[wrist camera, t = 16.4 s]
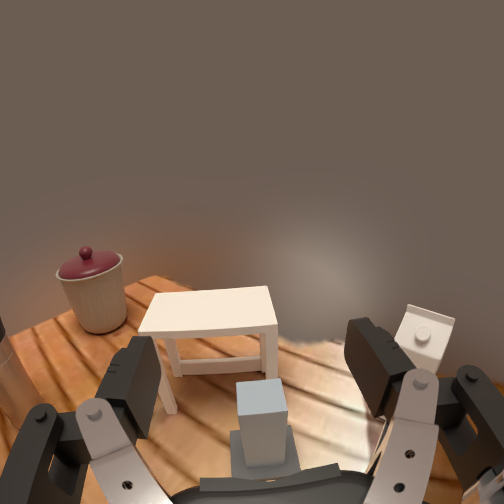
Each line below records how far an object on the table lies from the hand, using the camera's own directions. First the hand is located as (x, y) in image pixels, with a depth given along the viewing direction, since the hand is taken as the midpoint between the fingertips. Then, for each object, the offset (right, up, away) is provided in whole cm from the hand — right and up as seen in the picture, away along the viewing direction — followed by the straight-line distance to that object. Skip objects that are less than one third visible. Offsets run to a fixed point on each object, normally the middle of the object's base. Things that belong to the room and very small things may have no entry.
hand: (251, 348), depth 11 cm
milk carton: (+24, -22, +25) cm, 41 cm away
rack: (-5, -20, +34) cm, 40 cm away
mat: (+2, -24, +21) cm, 32 cm away
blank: (+2, -24, +21) cm, 31 cm away
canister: (-38, -15, +55) cm, 69 cm away
